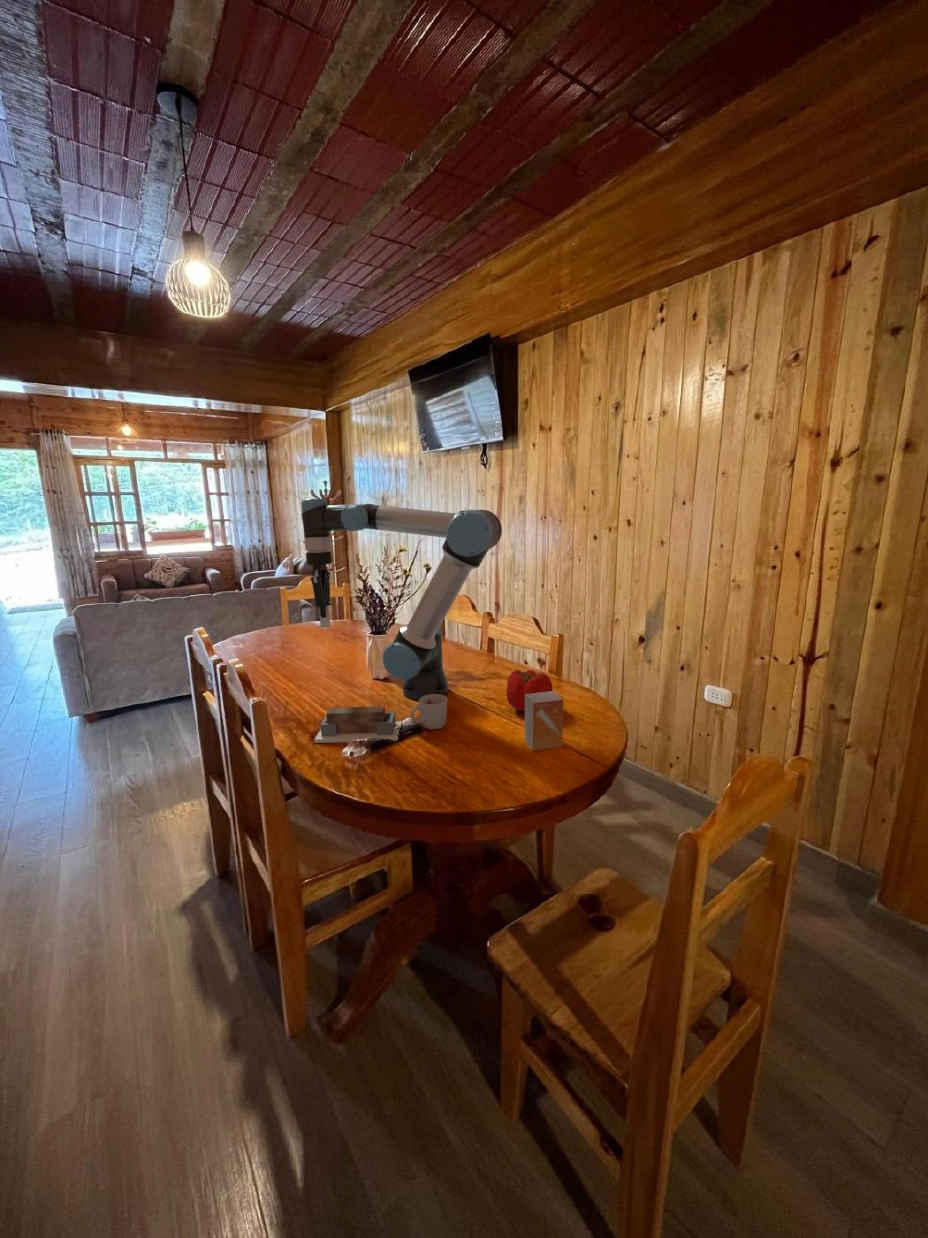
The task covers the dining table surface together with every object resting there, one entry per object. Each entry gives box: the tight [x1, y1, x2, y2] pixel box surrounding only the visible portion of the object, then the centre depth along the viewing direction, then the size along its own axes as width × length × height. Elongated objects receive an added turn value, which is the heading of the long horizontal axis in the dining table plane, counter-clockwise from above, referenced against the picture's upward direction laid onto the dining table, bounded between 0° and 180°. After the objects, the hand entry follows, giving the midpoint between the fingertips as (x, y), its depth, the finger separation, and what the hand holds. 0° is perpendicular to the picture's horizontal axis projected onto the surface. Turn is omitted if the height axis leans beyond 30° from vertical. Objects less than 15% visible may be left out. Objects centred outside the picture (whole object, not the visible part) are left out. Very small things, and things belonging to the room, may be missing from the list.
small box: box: [524, 690, 564, 752], centre depth 127 cm, size 8×6×13 cm
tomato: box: [505, 669, 554, 712], centre depth 150 cm, size 13×14×12 cm
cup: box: [410, 694, 448, 730], centre depth 140 cm, size 11×8×8 cm
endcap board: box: [314, 711, 403, 744], centre depth 137 cm, size 22×10×4 cm, turn 90°
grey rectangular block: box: [326, 705, 386, 734], centre depth 137 cm, size 15×4×6 cm, turn 91°
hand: (325, 626), depth 157 cm, fingers closed
